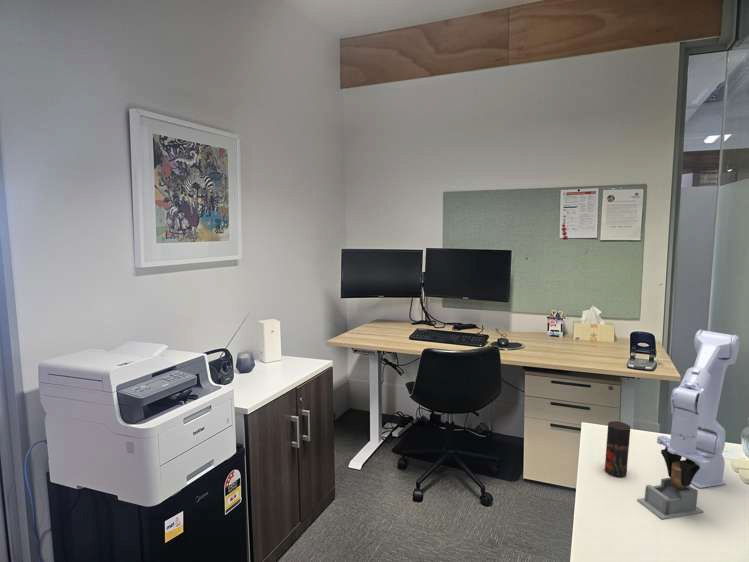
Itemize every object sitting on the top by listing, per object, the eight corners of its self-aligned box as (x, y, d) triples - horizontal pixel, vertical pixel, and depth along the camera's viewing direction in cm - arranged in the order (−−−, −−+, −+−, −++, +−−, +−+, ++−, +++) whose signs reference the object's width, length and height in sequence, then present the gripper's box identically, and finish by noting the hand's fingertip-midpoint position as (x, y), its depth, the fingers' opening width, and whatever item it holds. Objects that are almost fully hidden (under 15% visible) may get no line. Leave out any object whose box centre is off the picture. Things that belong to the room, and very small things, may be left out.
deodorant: (629, 478, 143) (633, 430, 141) (607, 476, 144) (611, 428, 142) (623, 468, 149) (626, 422, 147) (602, 466, 150) (605, 420, 148)
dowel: (667, 482, 131) (668, 462, 130) (678, 481, 131) (680, 460, 130) (678, 490, 127) (679, 469, 126) (689, 488, 128) (691, 467, 127)
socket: (676, 494, 135) (678, 474, 134) (703, 512, 127) (705, 491, 126) (637, 500, 132) (638, 480, 131) (661, 519, 124) (663, 498, 123)
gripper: (649, 422, 133) (645, 468, 135) (695, 447, 119) (690, 498, 121) (671, 420, 135) (666, 465, 137) (718, 444, 121) (713, 494, 123)
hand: (679, 480), depth 129 cm, fingers closed on dowel, 4 cm apart
